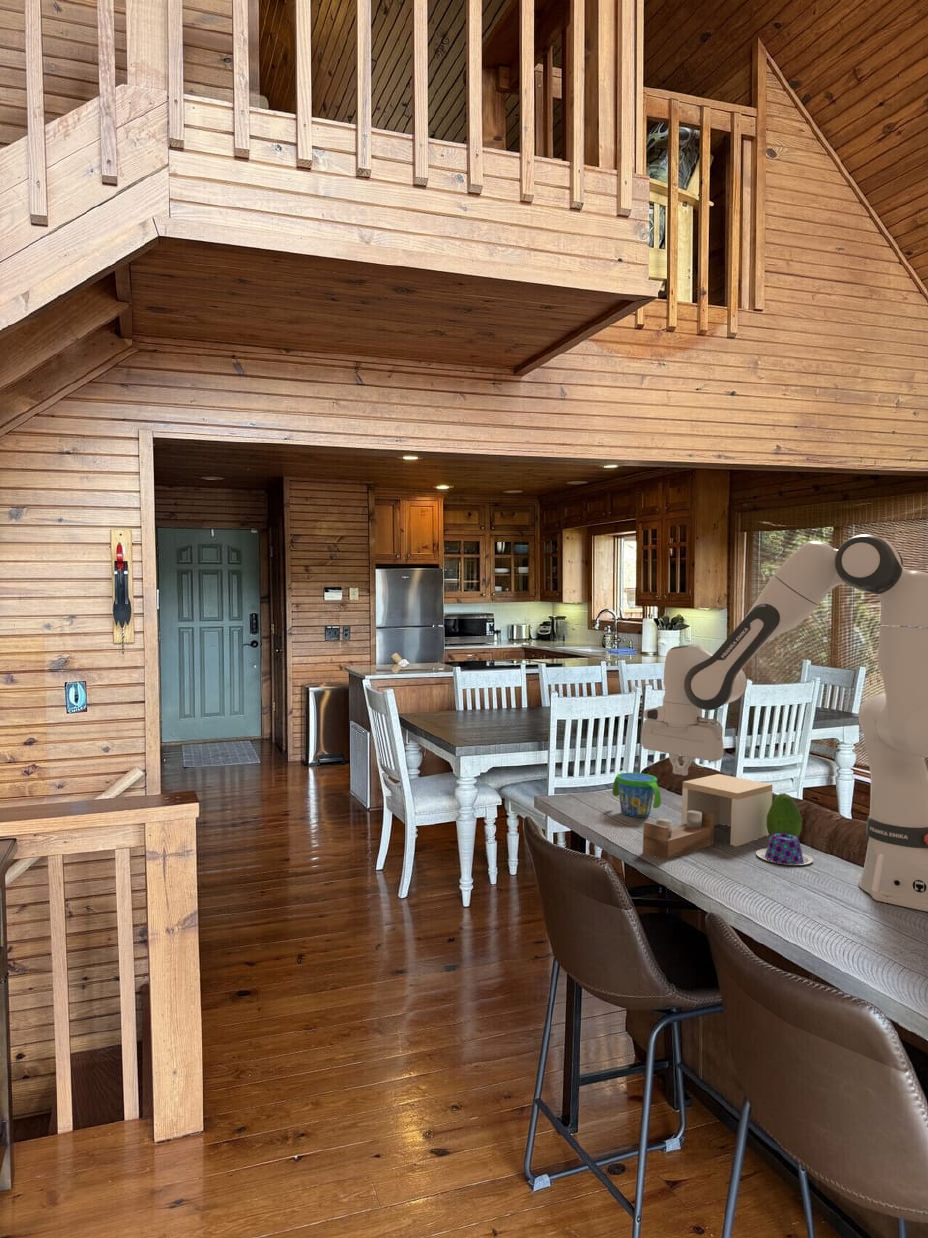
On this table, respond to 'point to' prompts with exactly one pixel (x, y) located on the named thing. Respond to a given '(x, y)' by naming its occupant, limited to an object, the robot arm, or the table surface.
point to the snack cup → (636, 793)
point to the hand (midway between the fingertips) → (680, 774)
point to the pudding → (784, 850)
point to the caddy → (678, 835)
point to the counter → (730, 804)
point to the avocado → (784, 816)
